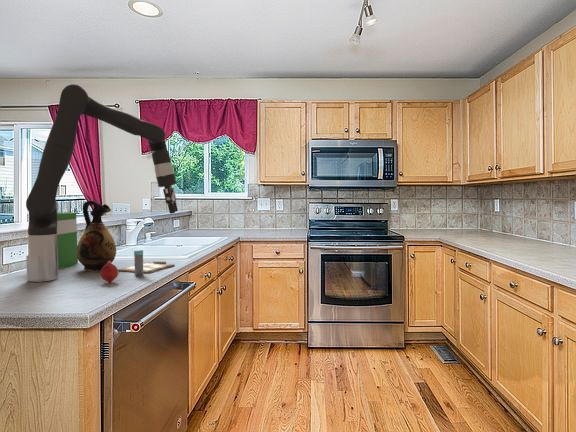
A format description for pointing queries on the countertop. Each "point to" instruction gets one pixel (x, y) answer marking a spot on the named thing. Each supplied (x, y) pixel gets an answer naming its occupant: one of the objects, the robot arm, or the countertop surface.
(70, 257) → the hardback book
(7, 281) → the countertop surface
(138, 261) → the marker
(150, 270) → the clipboard
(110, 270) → the onion
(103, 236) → the ceramic jug
